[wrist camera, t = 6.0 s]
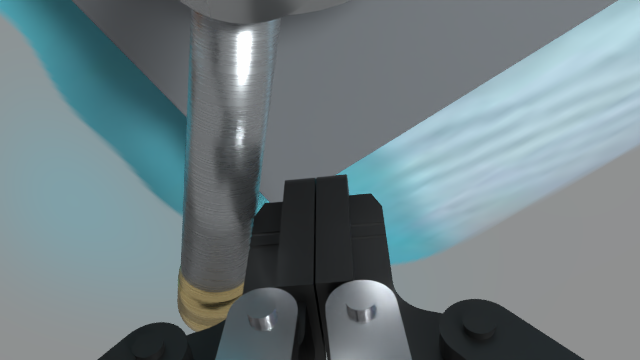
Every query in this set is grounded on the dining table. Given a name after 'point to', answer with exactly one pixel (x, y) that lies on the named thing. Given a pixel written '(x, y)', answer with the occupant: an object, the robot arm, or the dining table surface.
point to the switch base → (350, 67)
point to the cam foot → (226, 145)
